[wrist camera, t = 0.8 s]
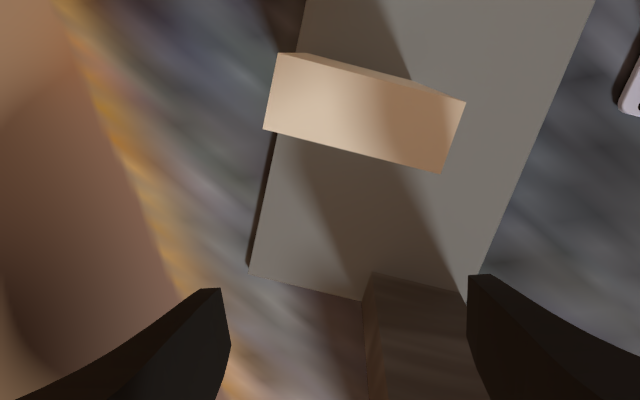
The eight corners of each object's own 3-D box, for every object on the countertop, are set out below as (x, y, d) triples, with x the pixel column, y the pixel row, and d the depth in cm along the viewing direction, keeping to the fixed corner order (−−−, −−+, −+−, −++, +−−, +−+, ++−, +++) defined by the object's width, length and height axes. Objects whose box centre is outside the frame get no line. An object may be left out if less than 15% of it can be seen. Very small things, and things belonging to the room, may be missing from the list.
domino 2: (371, 271, 23) (389, 401, 14) (459, 292, 23) (529, 434, 14) (361, 301, 23) (372, 444, 15) (447, 322, 23) (506, 475, 15)
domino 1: (306, 52, 19) (278, 52, 11) (411, 80, 19) (466, 102, 11) (296, 96, 20) (262, 128, 11) (398, 122, 20) (440, 174, 11)
